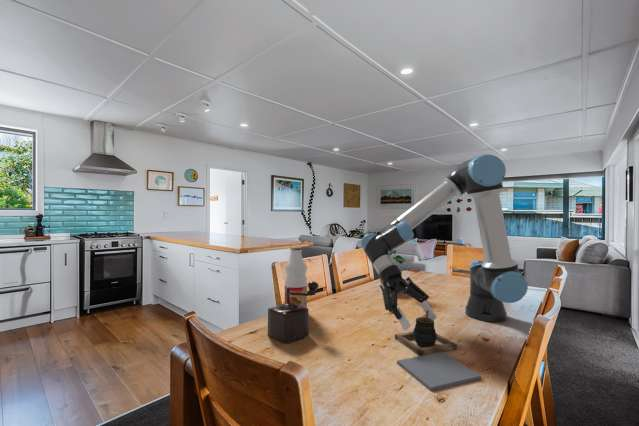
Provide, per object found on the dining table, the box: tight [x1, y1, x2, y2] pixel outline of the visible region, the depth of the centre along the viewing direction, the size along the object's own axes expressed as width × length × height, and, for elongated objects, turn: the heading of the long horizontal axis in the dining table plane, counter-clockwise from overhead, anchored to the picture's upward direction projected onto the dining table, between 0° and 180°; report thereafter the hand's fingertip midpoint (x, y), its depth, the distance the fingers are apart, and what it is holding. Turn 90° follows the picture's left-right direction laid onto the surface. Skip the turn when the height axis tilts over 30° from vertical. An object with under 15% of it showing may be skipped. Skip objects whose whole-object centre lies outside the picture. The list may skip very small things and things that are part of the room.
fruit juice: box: [284, 246, 308, 308], centre depth 128 cm, size 9×9×28 cm
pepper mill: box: [267, 281, 319, 345], centre depth 107 cm, size 16×11×18 cm
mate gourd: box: [412, 311, 437, 348], centre depth 99 cm, size 7×8×10 cm
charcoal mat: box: [396, 352, 482, 392], centre depth 82 cm, size 16×14×1 cm
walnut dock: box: [394, 331, 458, 356], centre depth 99 cm, size 14×13×2 cm
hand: (421, 323), depth 99 cm, fingers open, 13 cm apart
